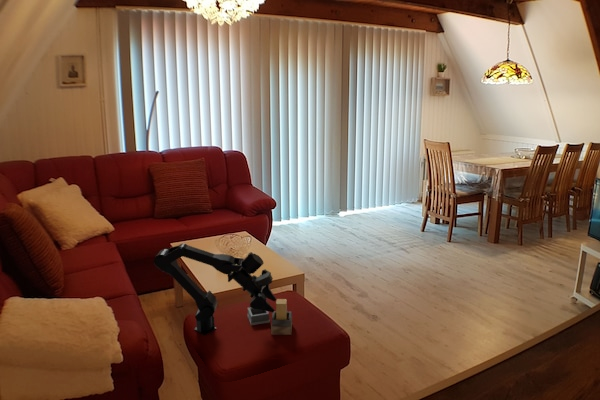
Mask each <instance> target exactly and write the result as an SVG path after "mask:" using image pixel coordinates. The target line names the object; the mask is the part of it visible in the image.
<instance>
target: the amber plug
mask: <svg viewBox="0 0 600 400" xmlns="http://www.w3.org/2000/svg"><path fill="white" fill-rule="evenodd" d="M287 304H288V303H287V299H286V298H276V301H275V308H276V309H275V311H276V320H287V311H288V306H287Z"/></svg>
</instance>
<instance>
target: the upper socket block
mask: <svg viewBox="0 0 600 400" xmlns="http://www.w3.org/2000/svg"><path fill="white" fill-rule="evenodd" d="M292 329H293V316H292V311H288V310H287V320H276V310H275V311H274V312H272V314H271V326H270V333H271V335H274V336H275V335H276V336H277V335H279V336H282V335H285V336H287V335H288V336H289V335H291V336H292V333H293V332H292V331H293V330H292Z"/></svg>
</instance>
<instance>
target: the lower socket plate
mask: <svg viewBox="0 0 600 400" xmlns="http://www.w3.org/2000/svg"><path fill="white" fill-rule="evenodd" d="M247 319H248V320H249V325H250V326H256V325H262V324H270V322H271V320H270V313H269V311H265V310H260V309H254V310H253V309H252V308H251V307H250V306H249V307H247Z"/></svg>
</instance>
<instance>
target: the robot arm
mask: <svg viewBox="0 0 600 400" xmlns="http://www.w3.org/2000/svg"><path fill="white" fill-rule="evenodd" d="M183 257H184V258H187V259H189V260H192V261H196V262H198V263H202V264H204V265H208V266H211V267H212V268H214V270H216V271H217V272H219V273H221V274H224V275H227V282H228V283H230V282H231V281H232V280H234V281H235V282H236V283H237V284H238V285H239V286H240V287H242V291H243V292H245V291H246V292H247V293H248V294H250V296H249V297H250V298H251V299H250V302H249V308H250V307H251V308H252V309H253V310H254V309H260V310H265V311H268V312H270V313H273V312H274V311H276V309H274V308H273V306H272V305H271V304H270V303H269V302H268V300H270V301H272V302H276V301H277V298H276V297H275V295H274V294H273V292H272V290H271V288H270V285H271V284H272V283H273V279H274V278H273V276H272V273H271V272H270V271H269V270H267V269H263V270H261V274H260V275H259V276H256V274H255V273H256V272H257V271H258V270H259V269H260V268H261V267H262V266H263V265H264V260H263V259H262V258H261V256H260V255H258V254H256V253H253V252H252V251H249V253H248V255H247V256H246V257H244V258H241V257H234V256H233V255H232V254H231V255H229V254H224V253H221V254H220V253H219V254H216V253H213V252H210V251H206V250H203V249H200V248H197V247H194V246H192V245H188V244H186V243H184V242H183V243H181V244H178V245H175V246H172V247H170V248H163V249H161V250H160V251H159V252H158V253H157V254H156V255H155V256H154V259H153V265H154V266H155V267H156V268H158V269H159V270H160V271H162V272H163V273H166V274H168V275H170V276H171V277H172V278H173V279H174V280H175V281H176V282H177V283H178V284H179V285H180V287H182V289H184V290H185V292H186V293H187V294H188V295H189V296H190V297H191V298H192V299H193V300H194V302H195V304H196V307H197V311H196V314H195V316H194V318H195V322H196V326H195V328H194V331H196V332H197V333H199V334H201V335H203V336H205V335H207V334H210V333H211V332H213V331H216V330H217V327H216V326H215V317H214V313H216V312H215V311H216V310H217V309H216V308H217V307H218V300H217V296H216V295H215V294H213V292H212V291H211V290H208V291H204V290H203V289H202V288H200V286H199V285H198V284H197V283H196V282H195V281H194V280H193V279H192V278H191V276H189V274H187V272H186V271H184V269H183V267H181V266H180V264H179V263H178V261H177V260H178V259H179V258H183ZM252 274H255V275H252ZM267 299H268V300H267Z"/></svg>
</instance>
